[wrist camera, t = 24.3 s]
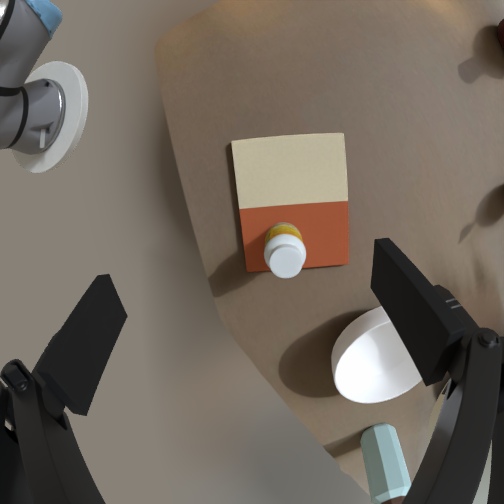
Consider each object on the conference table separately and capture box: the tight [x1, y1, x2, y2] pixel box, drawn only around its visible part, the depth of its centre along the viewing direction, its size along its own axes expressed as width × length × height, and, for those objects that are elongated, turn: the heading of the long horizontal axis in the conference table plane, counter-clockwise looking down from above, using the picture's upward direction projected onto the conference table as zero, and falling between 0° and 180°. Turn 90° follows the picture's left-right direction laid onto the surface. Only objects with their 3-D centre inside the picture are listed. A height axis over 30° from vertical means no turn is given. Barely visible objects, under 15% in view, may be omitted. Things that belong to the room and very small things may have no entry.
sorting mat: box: [231, 133, 349, 272], centre depth 41 cm, size 16×20×1 cm
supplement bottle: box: [264, 223, 306, 278], centre depth 38 cm, size 5×5×10 cm
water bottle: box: [360, 423, 411, 504], centre depth 48 cm, size 10×10×25 cm
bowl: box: [331, 306, 422, 403], centre depth 45 cm, size 20×20×8 cm
